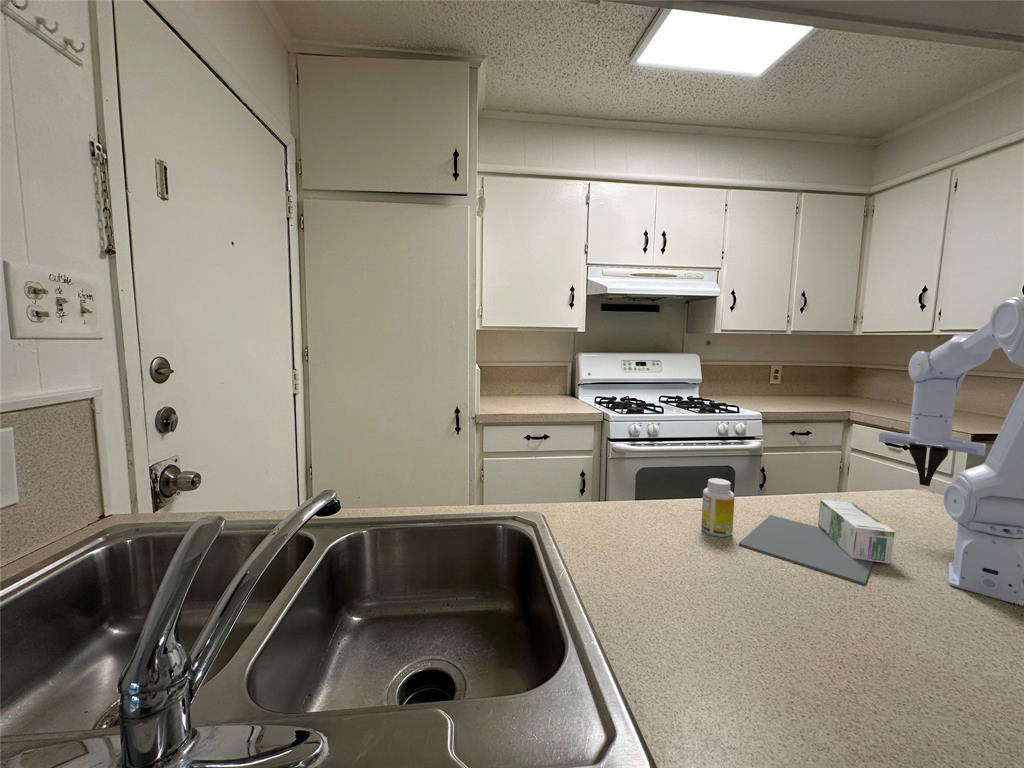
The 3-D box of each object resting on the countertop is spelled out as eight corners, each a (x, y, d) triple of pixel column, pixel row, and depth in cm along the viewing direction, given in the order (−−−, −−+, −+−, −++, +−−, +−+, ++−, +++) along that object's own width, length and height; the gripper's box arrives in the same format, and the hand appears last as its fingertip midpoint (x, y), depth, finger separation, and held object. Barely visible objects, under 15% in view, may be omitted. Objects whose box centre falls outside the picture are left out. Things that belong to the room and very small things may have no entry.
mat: (864, 585, 65) (865, 582, 65) (738, 545, 78) (738, 543, 78) (879, 545, 79) (879, 543, 79) (770, 516, 92) (770, 514, 92)
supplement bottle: (737, 533, 83) (740, 482, 83) (724, 540, 80) (727, 487, 79) (709, 523, 88) (712, 475, 87) (695, 530, 84) (698, 480, 83)
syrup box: (849, 529, 85) (894, 565, 71) (815, 526, 87) (853, 559, 73) (852, 502, 85) (898, 532, 71) (818, 498, 86) (856, 527, 72)
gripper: (987, 417, 79) (979, 489, 80) (883, 409, 89) (878, 472, 91) (989, 422, 74) (981, 498, 75) (880, 412, 84) (874, 479, 86)
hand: (924, 484), depth 83 cm, fingers closed
